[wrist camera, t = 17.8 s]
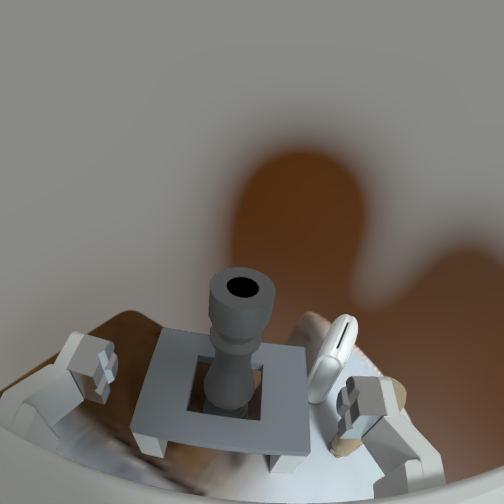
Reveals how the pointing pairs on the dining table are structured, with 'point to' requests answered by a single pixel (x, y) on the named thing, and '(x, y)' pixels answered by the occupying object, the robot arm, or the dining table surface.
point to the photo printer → (331, 358)
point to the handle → (349, 445)
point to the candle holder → (235, 338)
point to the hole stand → (218, 427)
